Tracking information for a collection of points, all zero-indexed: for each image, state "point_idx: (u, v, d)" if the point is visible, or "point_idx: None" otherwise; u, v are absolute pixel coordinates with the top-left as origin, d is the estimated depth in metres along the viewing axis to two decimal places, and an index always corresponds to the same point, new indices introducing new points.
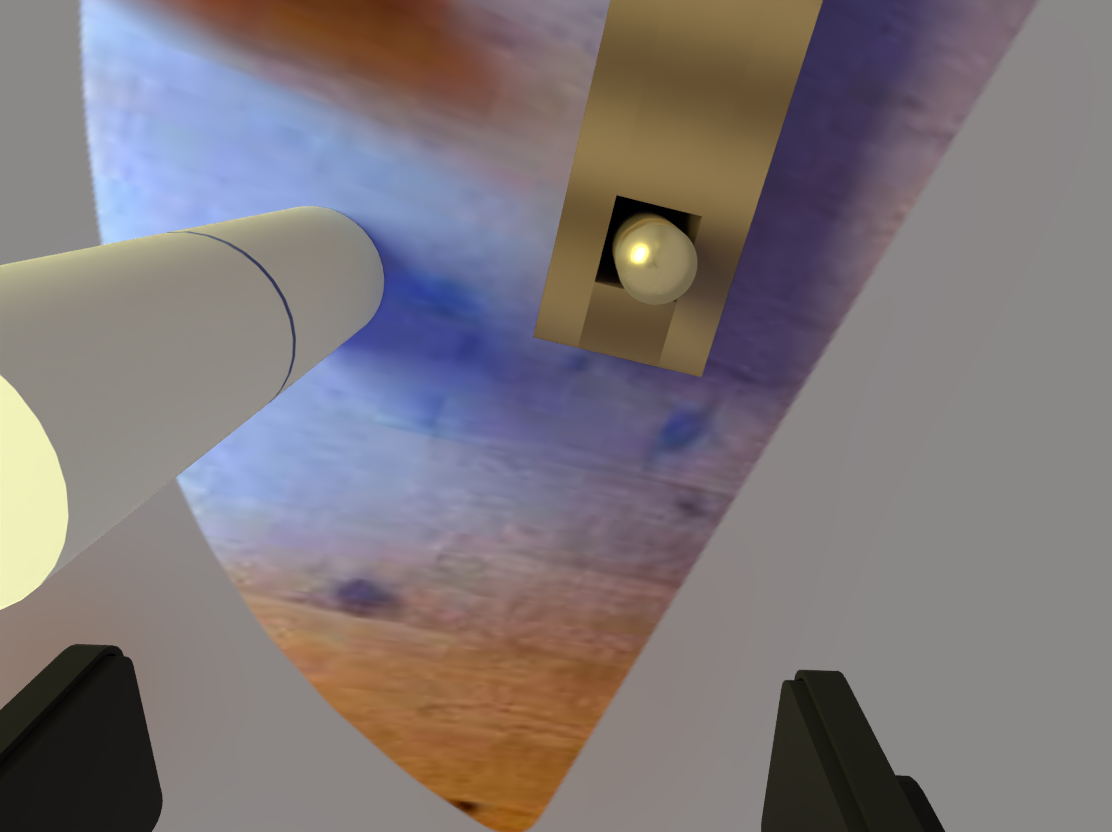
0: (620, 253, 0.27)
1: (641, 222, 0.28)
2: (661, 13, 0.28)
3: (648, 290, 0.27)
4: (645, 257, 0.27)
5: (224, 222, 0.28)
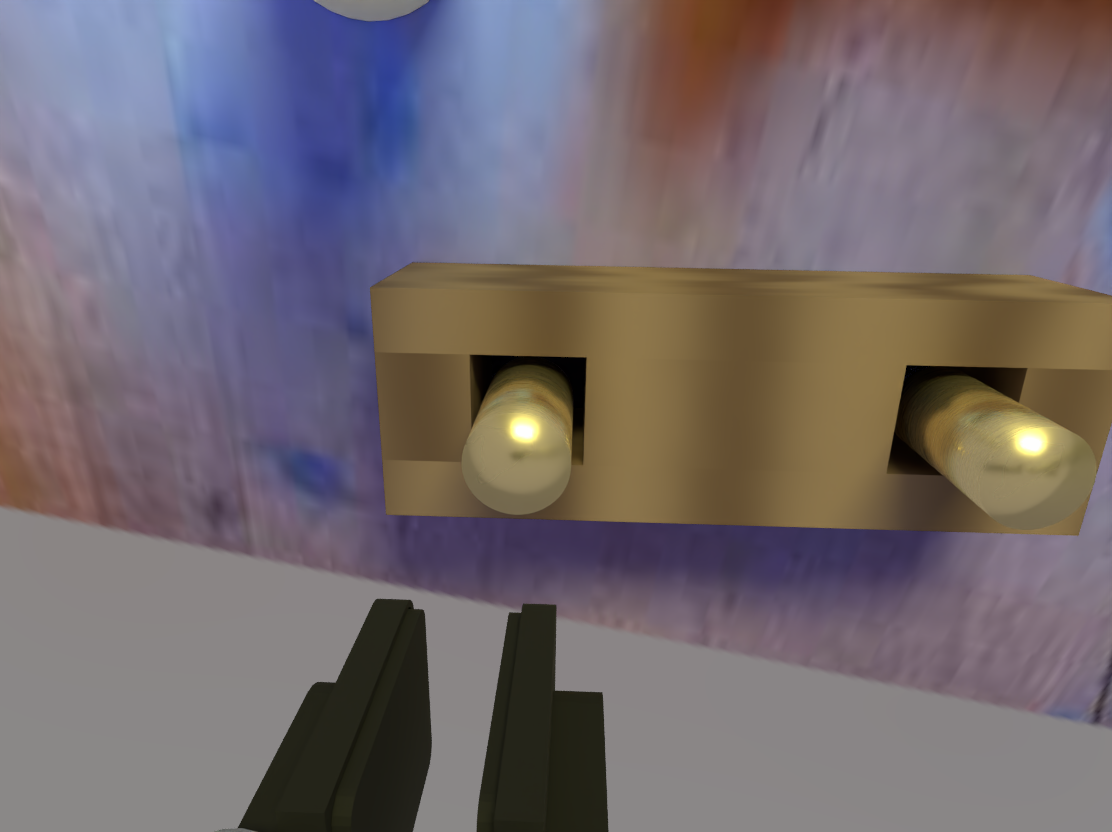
0: (519, 415, 0.19)
1: (564, 416, 0.21)
2: (805, 361, 0.23)
3: (479, 462, 0.19)
4: (522, 448, 0.19)
5: None
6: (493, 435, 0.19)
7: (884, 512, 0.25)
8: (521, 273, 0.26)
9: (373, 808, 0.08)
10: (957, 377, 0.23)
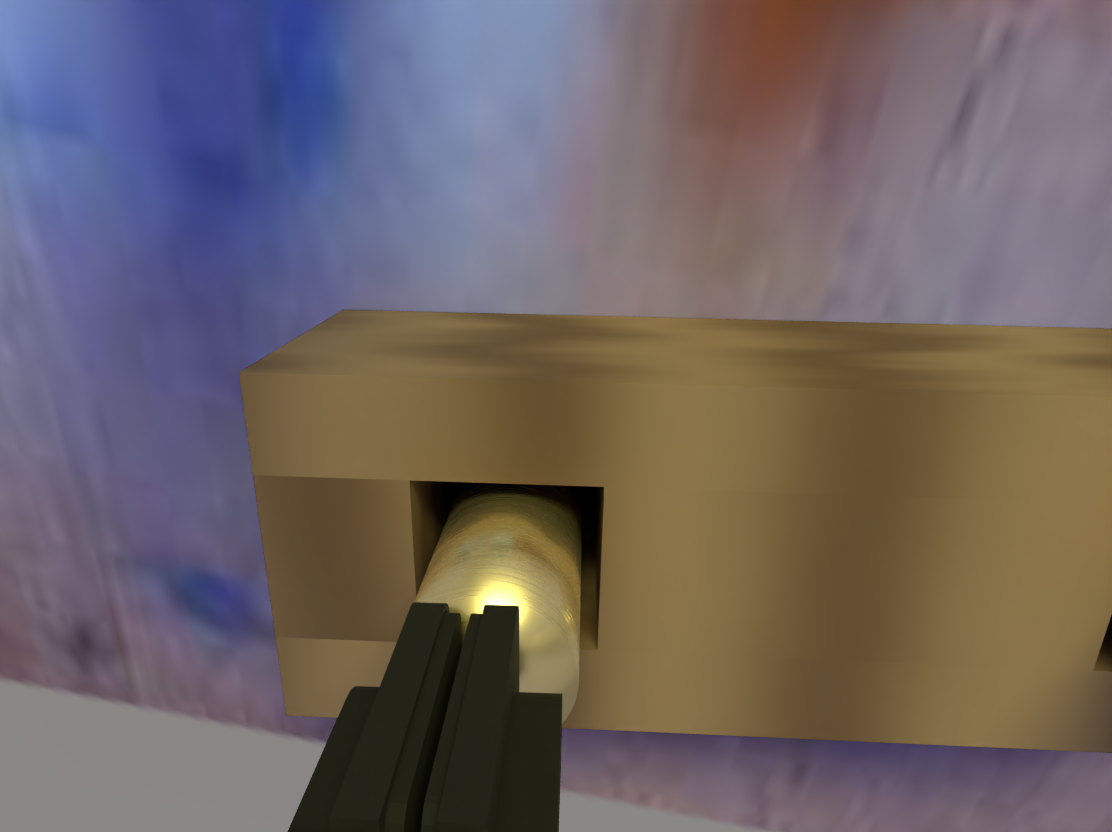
0: (489, 600, 0.11)
1: (567, 576, 0.13)
2: (974, 496, 0.14)
3: None
4: None
5: None
6: None
7: (1083, 727, 0.15)
8: (501, 334, 0.17)
9: (421, 814, 0.08)
10: None
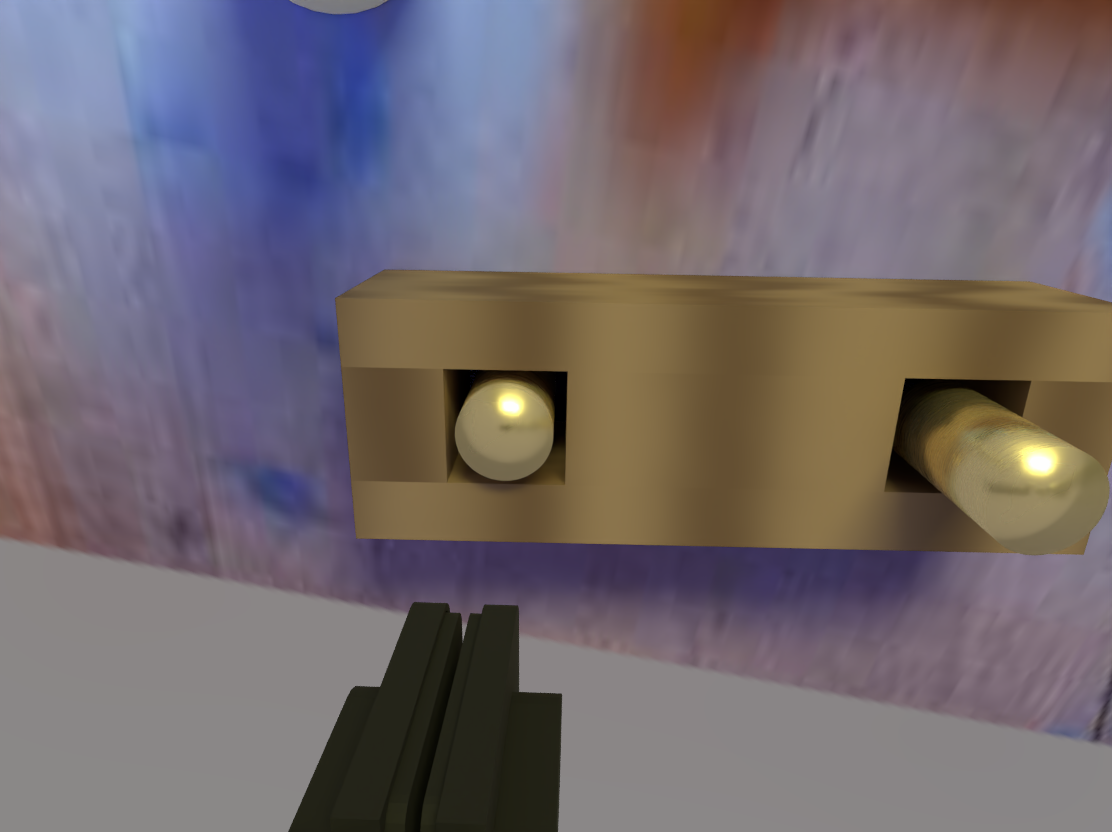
0: (506, 389, 0.21)
1: (546, 393, 0.23)
2: (798, 374, 0.22)
3: (470, 433, 0.22)
4: (509, 419, 0.22)
5: None
6: (483, 408, 0.21)
7: (882, 532, 0.23)
8: (499, 281, 0.24)
9: (421, 814, 0.08)
10: (958, 390, 0.22)
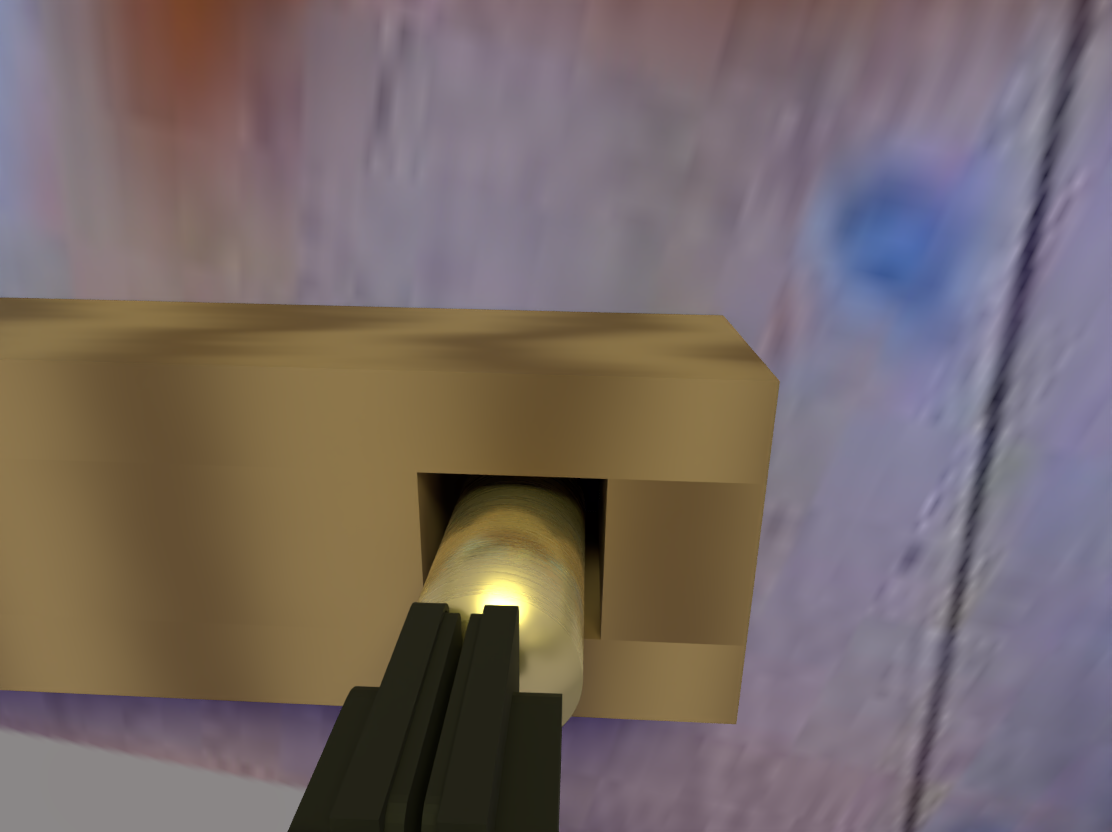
0: None
1: None
2: (258, 464, 0.14)
3: None
4: None
5: None
6: None
7: None
8: None
9: (421, 814, 0.08)
10: None
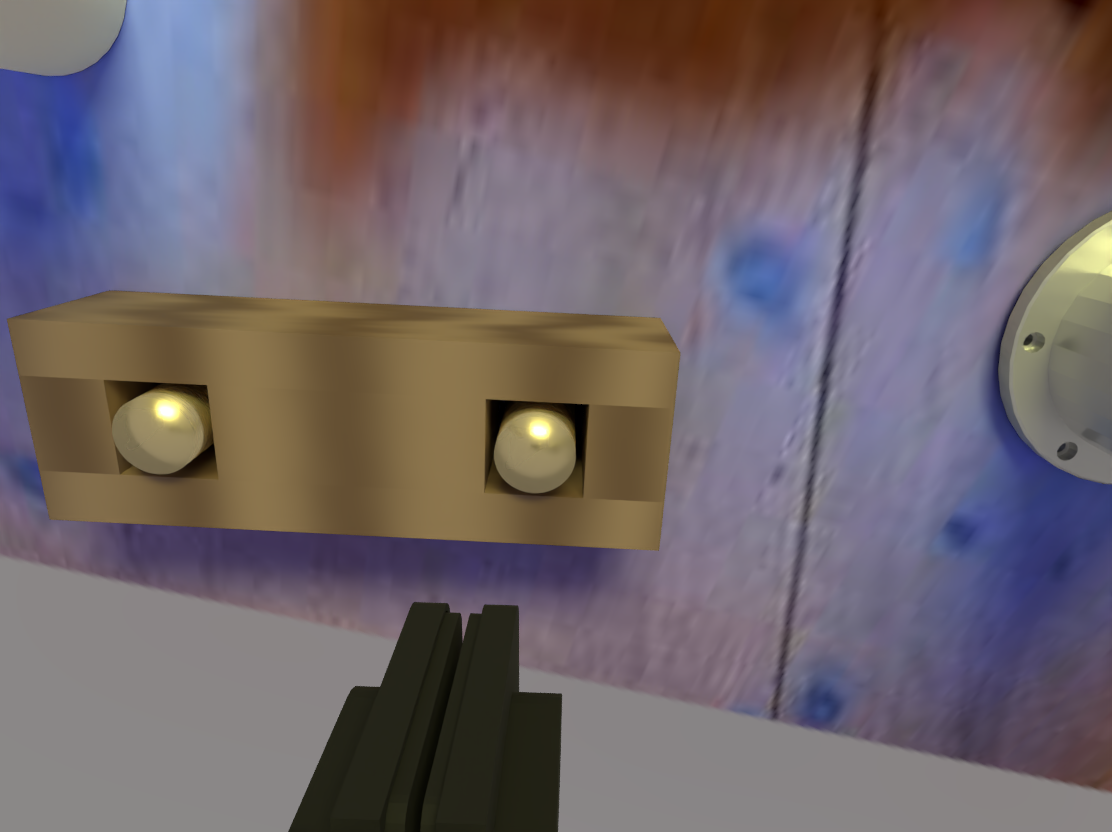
0: (150, 399, 0.26)
1: (207, 402, 0.28)
2: (397, 393, 0.26)
3: (125, 433, 0.26)
4: (155, 423, 0.26)
5: None
6: (133, 413, 0.26)
7: (488, 527, 0.28)
8: (184, 305, 0.29)
9: (421, 815, 0.08)
10: None
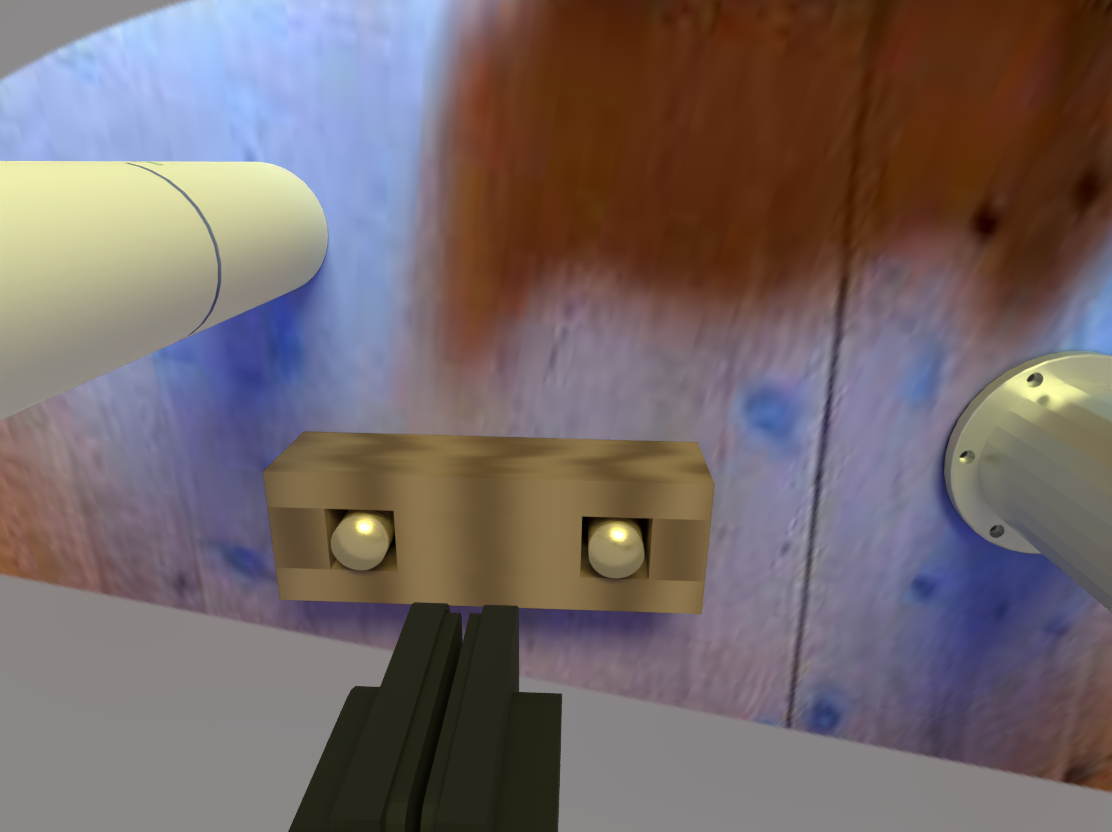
0: (357, 522, 0.38)
1: (388, 518, 0.40)
2: (522, 513, 0.38)
3: (339, 544, 0.39)
4: (360, 537, 0.39)
5: (251, 228, 0.31)
6: (345, 531, 0.38)
7: (582, 599, 0.40)
8: (365, 448, 0.41)
9: (422, 814, 0.08)
10: None
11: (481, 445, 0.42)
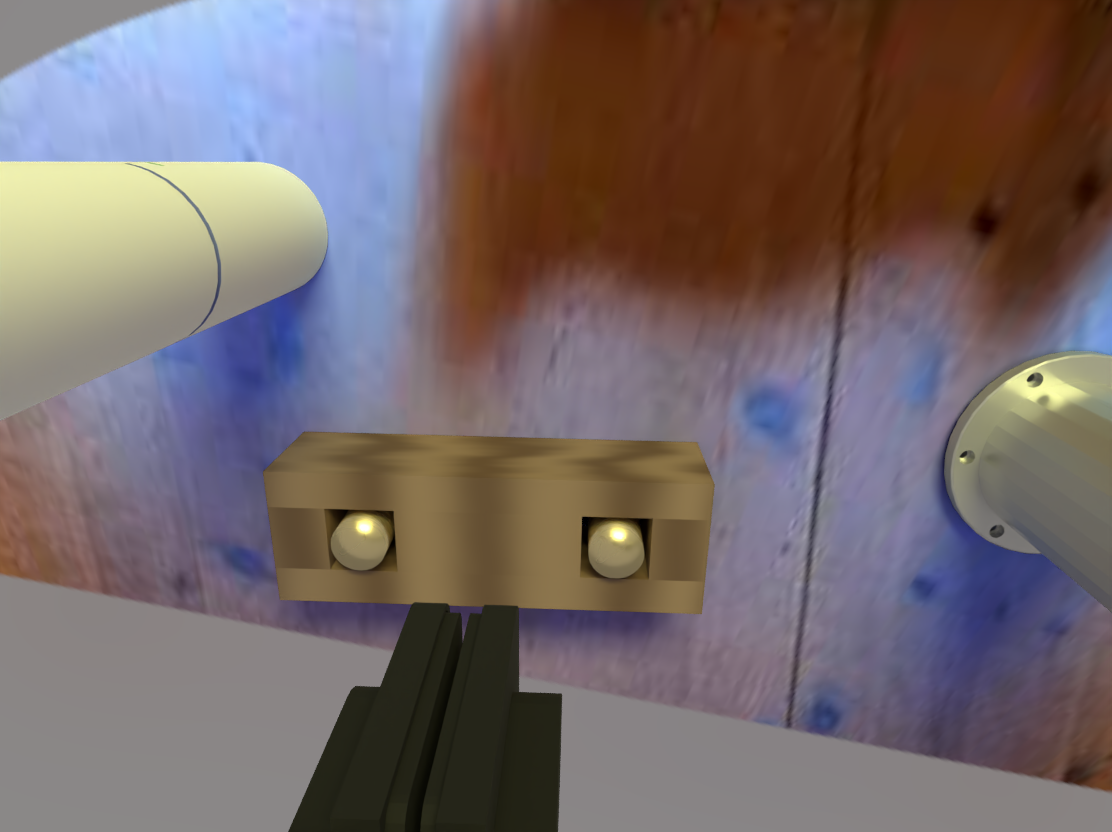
0: (357, 522, 0.38)
1: (388, 518, 0.40)
2: (522, 513, 0.38)
3: (339, 544, 0.39)
4: (360, 537, 0.39)
5: (251, 228, 0.31)
6: (345, 531, 0.38)
7: (582, 600, 0.40)
8: (365, 448, 0.41)
9: (421, 814, 0.08)
10: None
11: (481, 445, 0.42)
